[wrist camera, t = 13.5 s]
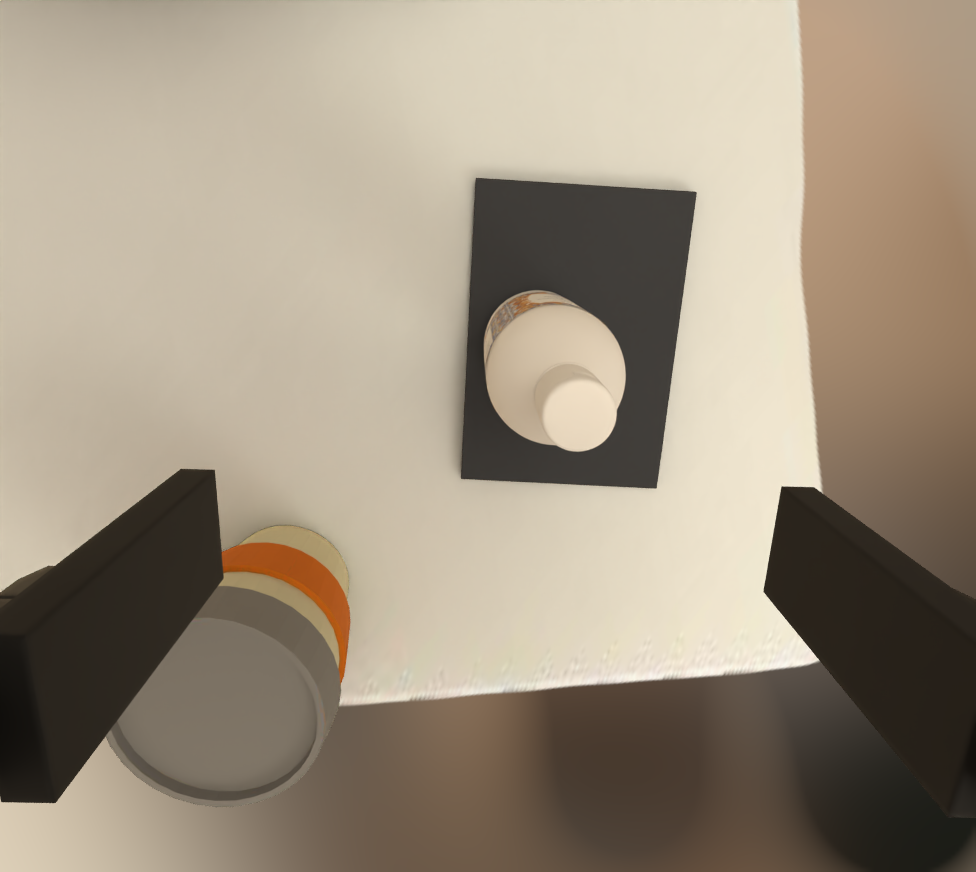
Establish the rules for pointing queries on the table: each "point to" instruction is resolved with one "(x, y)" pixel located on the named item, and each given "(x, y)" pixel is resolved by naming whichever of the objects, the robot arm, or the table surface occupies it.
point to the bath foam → (553, 371)
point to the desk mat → (597, 289)
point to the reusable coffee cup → (246, 677)
